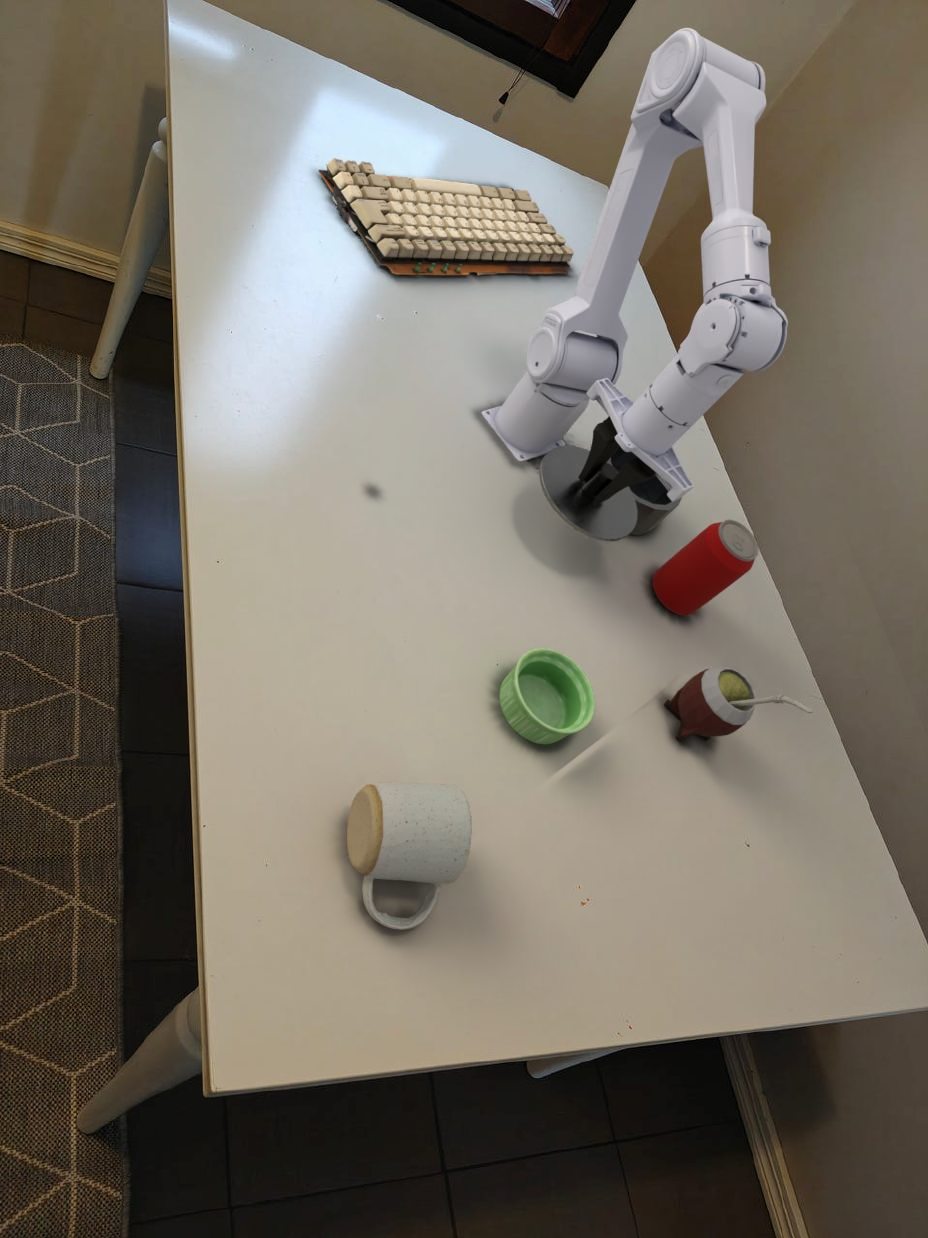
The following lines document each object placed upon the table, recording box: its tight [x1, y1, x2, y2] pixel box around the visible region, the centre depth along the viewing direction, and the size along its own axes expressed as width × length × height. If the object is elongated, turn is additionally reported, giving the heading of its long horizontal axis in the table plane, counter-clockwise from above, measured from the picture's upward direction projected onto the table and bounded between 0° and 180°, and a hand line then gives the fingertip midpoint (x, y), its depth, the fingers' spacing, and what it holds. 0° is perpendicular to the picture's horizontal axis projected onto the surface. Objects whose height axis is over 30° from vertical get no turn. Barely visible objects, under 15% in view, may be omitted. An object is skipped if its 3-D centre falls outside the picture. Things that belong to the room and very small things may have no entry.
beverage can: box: [652, 519, 759, 616], centre depth 99 cm, size 7×7×12 cm
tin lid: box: [538, 445, 638, 542], centre depth 92 cm, size 13×13×5 cm
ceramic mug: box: [346, 781, 473, 931], centre depth 66 cm, size 11×8×8 cm
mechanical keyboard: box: [317, 157, 575, 277], centre depth 121 cm, size 38×19×3 cm, turn 125°
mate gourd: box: [663, 666, 814, 743], centre depth 88 cm, size 8×8×15 cm
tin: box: [607, 448, 683, 536], centre depth 107 cm, size 12×12×5 cm
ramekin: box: [499, 647, 596, 745], centre depth 83 cm, size 9×9×4 cm
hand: (593, 487), depth 93 cm, fingers closed on tin lid, 2 cm apart
